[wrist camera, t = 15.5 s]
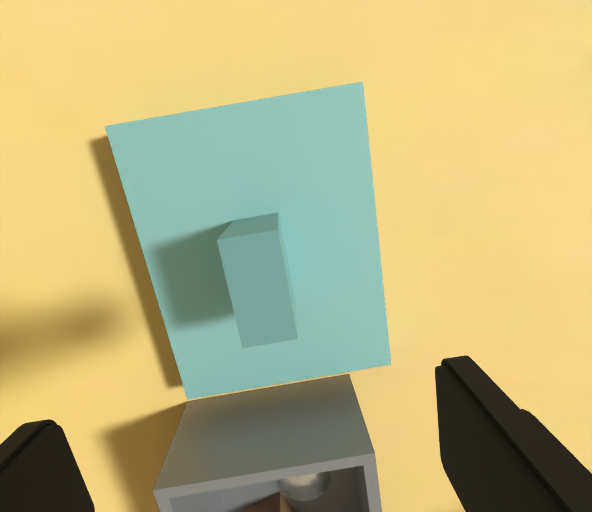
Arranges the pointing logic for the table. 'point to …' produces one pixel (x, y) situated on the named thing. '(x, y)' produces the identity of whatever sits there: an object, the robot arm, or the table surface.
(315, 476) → the steel part
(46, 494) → the robot arm
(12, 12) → the table surface
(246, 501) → the tub
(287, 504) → the brown cardboard cube
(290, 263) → the lid
